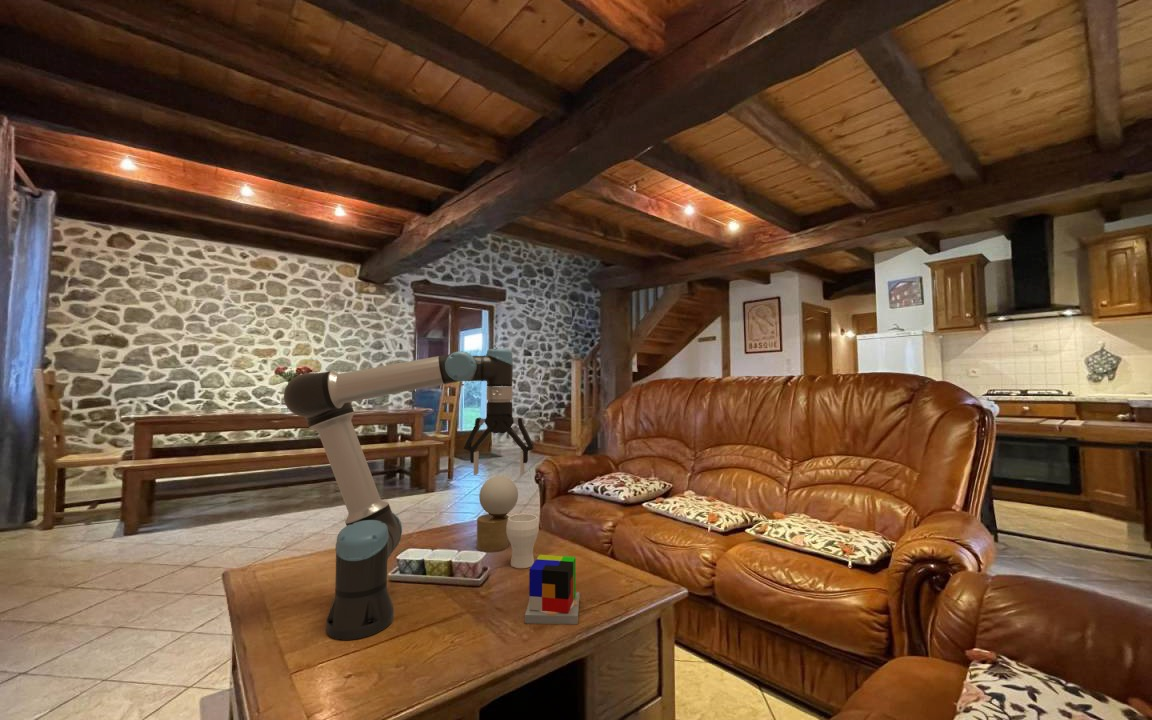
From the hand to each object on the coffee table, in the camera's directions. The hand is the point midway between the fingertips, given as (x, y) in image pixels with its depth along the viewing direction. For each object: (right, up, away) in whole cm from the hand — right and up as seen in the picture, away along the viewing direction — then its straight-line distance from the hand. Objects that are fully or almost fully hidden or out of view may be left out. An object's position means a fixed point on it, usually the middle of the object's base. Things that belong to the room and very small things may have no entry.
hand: (499, 474), depth 133 cm
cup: (+5, -34, +17) cm, 38 cm away
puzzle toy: (+16, -30, -14) cm, 37 cm away
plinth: (+17, -32, -15) cm, 39 cm away
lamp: (-7, -35, +34) cm, 49 cm away
